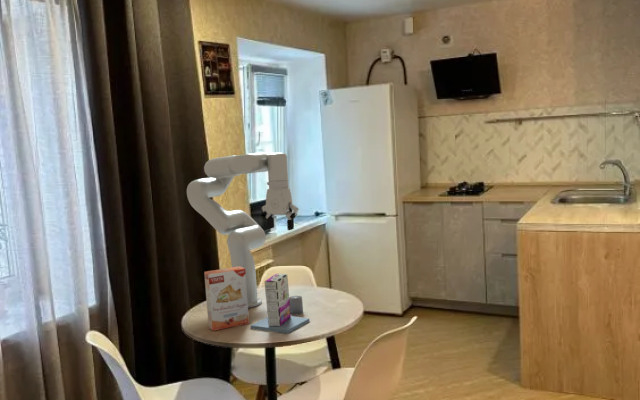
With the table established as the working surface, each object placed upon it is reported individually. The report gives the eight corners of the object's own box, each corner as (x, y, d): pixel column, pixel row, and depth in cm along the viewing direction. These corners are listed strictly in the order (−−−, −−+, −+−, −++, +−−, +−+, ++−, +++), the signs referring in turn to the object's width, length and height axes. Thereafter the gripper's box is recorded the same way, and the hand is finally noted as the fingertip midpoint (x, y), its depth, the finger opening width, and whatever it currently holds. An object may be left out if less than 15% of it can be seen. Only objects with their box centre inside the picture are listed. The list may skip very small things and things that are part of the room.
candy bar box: (278, 316, 211) (275, 273, 210) (291, 317, 210) (288, 273, 208) (267, 326, 200) (263, 280, 199) (280, 326, 199) (277, 280, 197)
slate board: (250, 328, 203) (250, 325, 203) (273, 317, 215) (273, 314, 215) (287, 333, 195) (287, 330, 195) (309, 321, 207) (309, 318, 207)
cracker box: (213, 331, 203) (208, 274, 201) (208, 327, 208) (203, 271, 206) (250, 323, 209) (245, 267, 207) (244, 319, 214) (240, 265, 212)
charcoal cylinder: (287, 313, 218) (286, 298, 218) (294, 310, 223) (293, 295, 222) (298, 315, 216) (297, 299, 215) (305, 311, 220) (304, 296, 220)
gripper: (255, 185, 221) (257, 229, 223) (290, 186, 211) (292, 231, 213) (267, 183, 227) (269, 226, 229) (302, 184, 217) (304, 228, 219)
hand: (280, 228), depth 221 cm, fingers open, 9 cm apart
